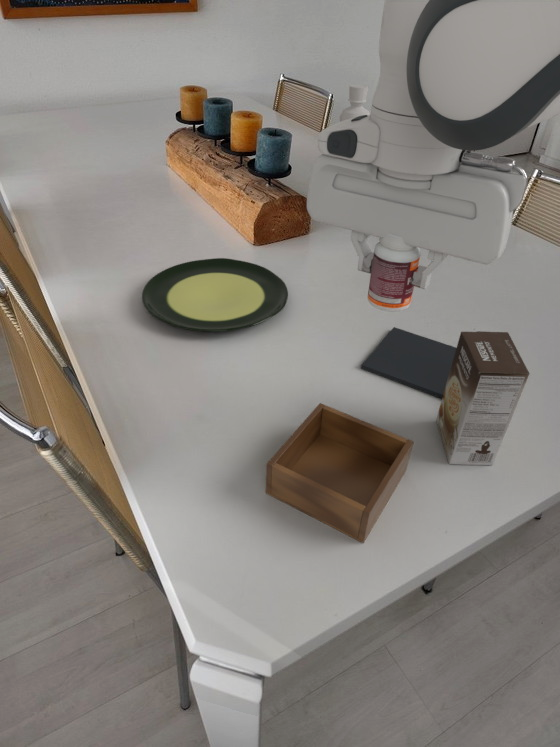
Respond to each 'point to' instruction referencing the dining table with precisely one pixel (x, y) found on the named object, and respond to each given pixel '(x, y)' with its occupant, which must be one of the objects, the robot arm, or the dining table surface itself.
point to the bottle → (355, 102)
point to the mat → (412, 361)
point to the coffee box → (480, 397)
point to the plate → (215, 295)
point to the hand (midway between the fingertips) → (392, 277)
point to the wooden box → (339, 470)
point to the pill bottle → (392, 274)
